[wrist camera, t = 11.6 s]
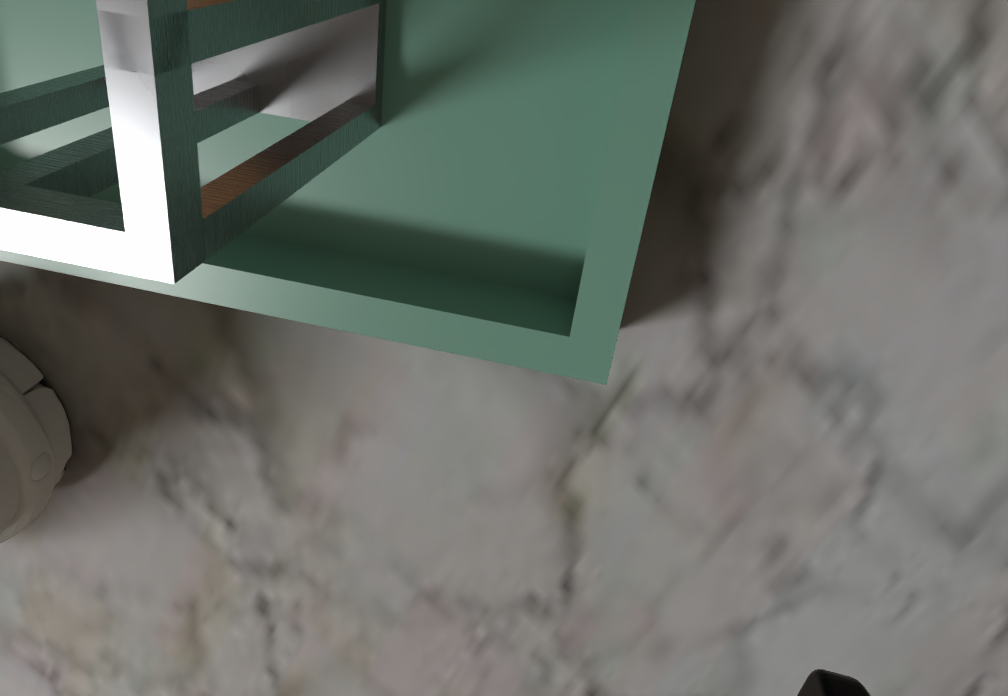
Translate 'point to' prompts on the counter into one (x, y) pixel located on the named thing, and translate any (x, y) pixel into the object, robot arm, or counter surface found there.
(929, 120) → the counter surface
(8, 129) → the cage
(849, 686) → the robot arm
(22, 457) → the mug
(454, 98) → the tray
